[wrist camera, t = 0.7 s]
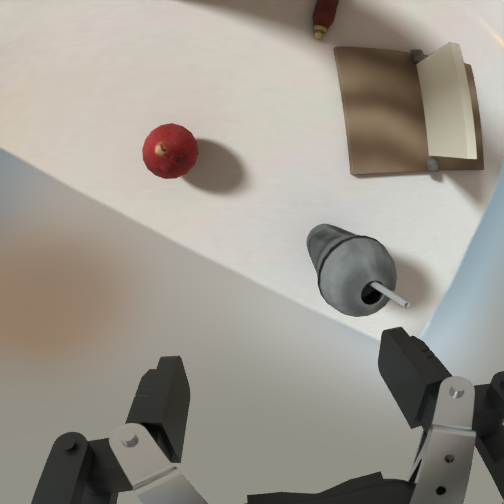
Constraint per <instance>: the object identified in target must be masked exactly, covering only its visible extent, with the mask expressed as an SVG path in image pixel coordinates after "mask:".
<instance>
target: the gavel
mask: <svg viewBox="0 0 504 504" xmlns="http://www.w3.org/2000/svg"><path fill="white" fill-rule="evenodd" d="M338 1H339V0H317V4H316V7H315V11H314V14H313V21H314V30H315V31H316V33H315V34H314V37H315V38H316V39H321V38H322V37H323V35H322V33H325V32H326V31H327V29H328V28H329V26H330V25H331V24H332V23H333V20H334V17H335V13H336V9H337V5H338Z"/></svg>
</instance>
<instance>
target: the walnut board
mask: <svg viewBox="0 0 504 504" xmlns="http://www.w3.org/2000/svg"><path fill="white" fill-rule="evenodd" d="M333 50H334V55H335V60H336V66H337V71H338V77H339V83H340V90H341V96H342V103H343V110H344V117H345V125H346V133H347V142H348V151H349V161H350V172H351V174H367V173H383V172H403V171H434V172H435V171H439V170H484V161H483V145H482V134H481V124H480V116H479V108H478V101H477V95H476V89H475V83H474V78H473V73H472V68H471V65H469V64H465V63H464V66H465V71H466V75H467V81H468V86H469V92H470V98H471V104H472V112H473V119H474V128H475V139H476V152H477V159H465V158H454V157H442V156H429V152H428V140H427V130H426V121H425V113H424V106H423V99H422V93H421V87H420V81H419V76H418V71H417V66H416V64H418V63H419V62H420V61H422V60H423V59H425V58H426V57H428V56H427V55H423V52H422V50H412V51H411V53H407V52H400V51H392V50H382V49H371V48H357V47H335V48H334V49H333Z"/></svg>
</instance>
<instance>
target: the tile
mask: <svg viewBox="0 0 504 504" xmlns="http://www.w3.org/2000/svg"><path fill="white" fill-rule="evenodd" d="M416 66H417V71H418V76H419V81H420V87H421V93H422V99H423V106H424V113H425V121H426V130H427V140H428V152H429V156H442V157H454V158H465V159H477V152H476V139H475V128H474V119H473V112H472V104H471V98H470V92H469V86H468V81H467V75H466V71H465V66H464V61H463V57H462V53H461V49H460V45H459V44H457V43H452V42H449V43H448V44H446V45H445V46H443V47H441V48H440V49H438V50H437V51H435V52H434V53H432V54H431V55H429V56H428V57H426V58H425V59H423V60H422V61H420V62H419V63H418V64H416Z"/></svg>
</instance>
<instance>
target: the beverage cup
mask: <svg viewBox="0 0 504 504" xmlns="http://www.w3.org/2000/svg"><path fill="white" fill-rule="evenodd" d="M307 248H308V251H309V255H310V257H311V260H312V262H313V265H314V267H315V270H316V272H317V277H318V286H319V290H320V293H321V295H322V297H323V298H324V299H325V301H326V302H327V303H328V304H329V305H331V306H332V307H333V308H335V309H336V310H338V311H340V312H341V313H343V314H345V315H350V316H354V317H360V316H368V315H371V314H373V313H375V312H377V311H379V310H380V309H381V308H383V307H384V306H385V305H386V304H387V302H388V301H389V300H390V299H392V300H393V301H395V302H396V303H398V304H399V305H401V306H402V307H404V308H405V309H408V308H409V307H410V303H409V302H408V301H407V300H405V299H404V298H402V297H400V296H399V295H397V294H396V293H394V290H395V286H396V278H397V275H396V269H395V264H394V262H393V260H392V258H391V256H390V255H389V253H388V251H387V250H386V248H385V247H384V246H383V245H382V244H381V243H380V242H378V241H377V240H376V239H373V238H370V237H367V236H360V235H355V234H353V233H350V232H348V231H346V230H343V229H341V228H339V227H336V226H333V225H329V224H321V225H318V226H316V227H315V228H313V229H312V230H311V232H310V233H309V235H308V238H307Z"/></svg>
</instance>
